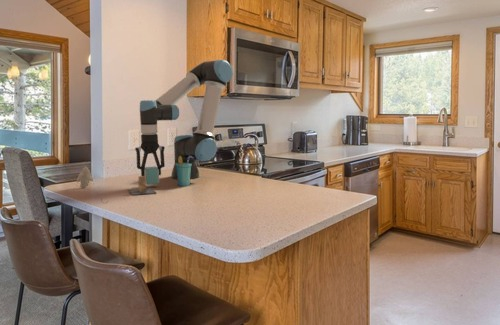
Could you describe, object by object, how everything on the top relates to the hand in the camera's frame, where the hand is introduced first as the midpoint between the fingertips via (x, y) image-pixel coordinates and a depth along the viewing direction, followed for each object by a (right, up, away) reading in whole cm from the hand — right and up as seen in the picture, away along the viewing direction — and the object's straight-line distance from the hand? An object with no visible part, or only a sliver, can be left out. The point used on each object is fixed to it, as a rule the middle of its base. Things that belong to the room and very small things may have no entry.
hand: (151, 182), depth 186 cm
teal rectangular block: (0, 0, 0) cm, 0 cm away
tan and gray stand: (-1, -4, -14) cm, 14 cm away
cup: (+15, -2, +4) cm, 16 cm away
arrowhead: (-30, -2, -4) cm, 30 cm away
